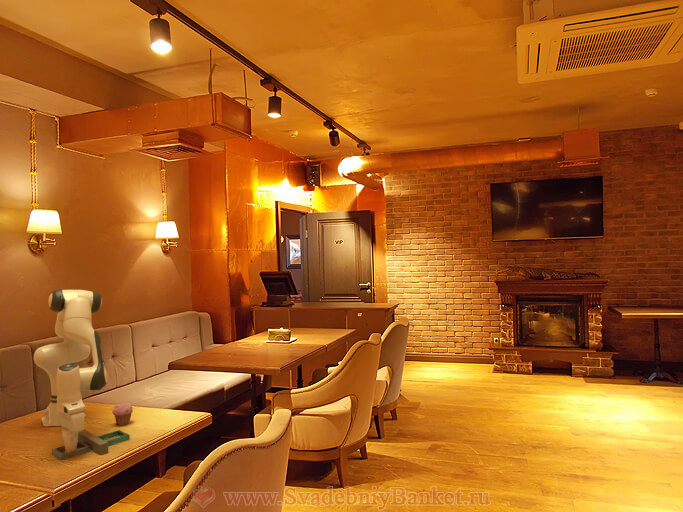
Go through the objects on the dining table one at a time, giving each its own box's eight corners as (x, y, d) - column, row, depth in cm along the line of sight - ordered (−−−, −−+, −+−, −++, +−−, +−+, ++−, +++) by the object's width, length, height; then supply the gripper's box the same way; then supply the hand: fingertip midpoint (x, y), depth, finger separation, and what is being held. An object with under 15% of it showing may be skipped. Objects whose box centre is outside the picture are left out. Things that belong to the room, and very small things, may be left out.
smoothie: (72, 456, 192) (70, 420, 192) (58, 455, 193) (57, 420, 193) (83, 449, 198) (82, 415, 198) (70, 449, 199) (69, 415, 200)
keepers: (51, 453, 195) (51, 449, 195) (119, 434, 215) (119, 430, 215) (60, 460, 188) (60, 455, 188) (129, 439, 208) (129, 434, 208)
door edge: (76, 440, 209) (76, 431, 209) (84, 438, 211) (83, 429, 211) (100, 455, 192) (100, 444, 192) (108, 452, 194) (107, 442, 194)
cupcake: (109, 425, 229) (108, 404, 229) (126, 419, 236) (125, 399, 236) (120, 428, 224) (119, 406, 224) (137, 422, 231) (136, 401, 231)
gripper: (52, 402, 201) (53, 435, 200) (69, 411, 187) (71, 446, 187) (69, 398, 205) (70, 431, 205) (87, 406, 191) (88, 441, 191)
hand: (70, 438), depth 196 cm, fingers open, 7 cm apart
